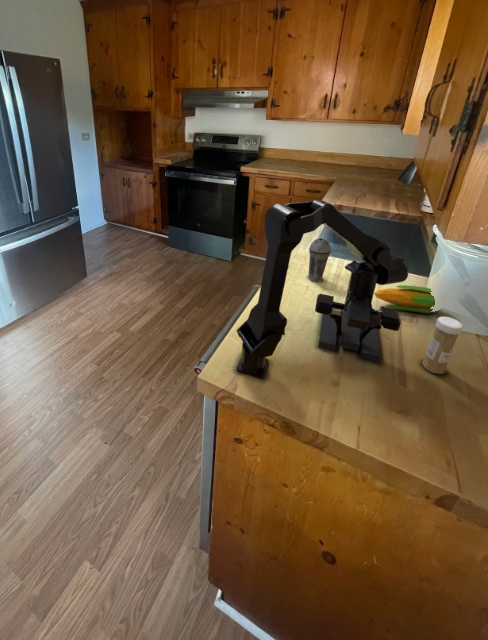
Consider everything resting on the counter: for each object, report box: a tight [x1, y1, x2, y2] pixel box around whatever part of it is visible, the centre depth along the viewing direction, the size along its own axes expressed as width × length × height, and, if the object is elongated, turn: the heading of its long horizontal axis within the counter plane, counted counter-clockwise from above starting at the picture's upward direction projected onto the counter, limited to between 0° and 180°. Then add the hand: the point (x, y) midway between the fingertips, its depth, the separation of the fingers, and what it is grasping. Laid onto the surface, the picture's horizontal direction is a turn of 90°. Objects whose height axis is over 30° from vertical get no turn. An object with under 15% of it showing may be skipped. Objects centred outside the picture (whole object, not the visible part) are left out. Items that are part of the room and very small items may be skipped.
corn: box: [374, 284, 435, 314], centre depth 102 cm, size 7×8×20 cm
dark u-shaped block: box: [317, 312, 381, 364], centre depth 91 cm, size 18×14×2 cm
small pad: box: [338, 327, 360, 352], centre depth 86 cm, size 6×4×2 cm
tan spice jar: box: [422, 316, 463, 375], centre depth 77 cm, size 5×5×14 cm
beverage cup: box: [308, 226, 332, 282], centre depth 117 cm, size 7×7×20 cm
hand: (349, 338), depth 86 cm, fingers closed on small pad, 4 cm apart
